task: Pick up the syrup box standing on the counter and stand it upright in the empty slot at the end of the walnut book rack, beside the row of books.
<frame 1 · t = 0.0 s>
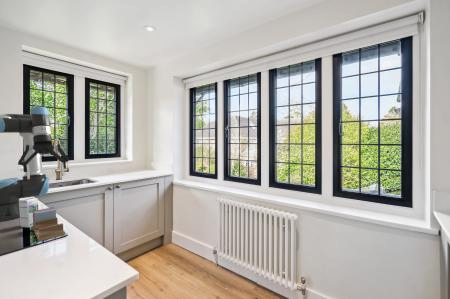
hand: (46, 176, 115), 28 cm above the counter, tool tilted 20°, fingers open, 13 cm apart
book rack: (48, 232, 117), on the counter
syrup box: (29, 225, 127), on the counter
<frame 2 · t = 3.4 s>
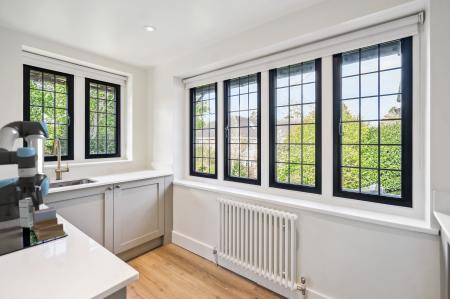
hand: (29, 218, 127), 4 cm above the counter, tool pointing down, fingers closed on syrup box, 6 cm apart
syrup box: (29, 225, 127), on the counter, touching gripper
when the fingers open (7 cm above the counter, at t = 9.2 s): syrup box drops 2 cm, resting on book rack.
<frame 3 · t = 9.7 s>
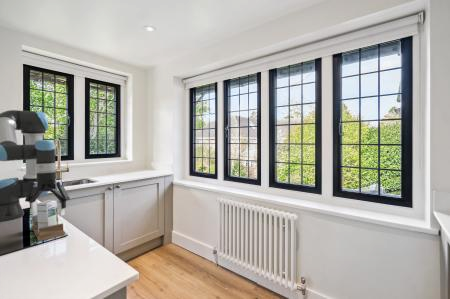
hand: (48, 215, 114), 9 cm above the counter, tool pointing down, fingers open, 13 cm apart
syrup box: (48, 231, 114), point 1 cm above the counter, touching book rack
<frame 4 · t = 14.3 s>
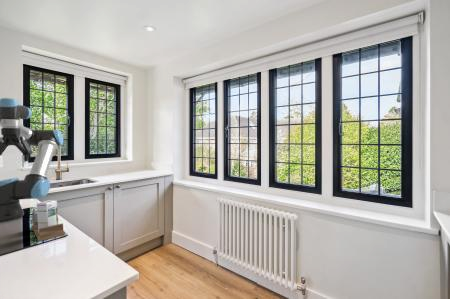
hand: (12, 167, 125), 32 cm above the counter, tool pointing down, fingers open, 13 cm apart
nothing on the counter moved.
at the end: syrup box 0.3 cm from the target spot on the book rack, point 1.3 cm above the book rack's base; syrup box tilted 0°; the gripper is holding nothing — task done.
